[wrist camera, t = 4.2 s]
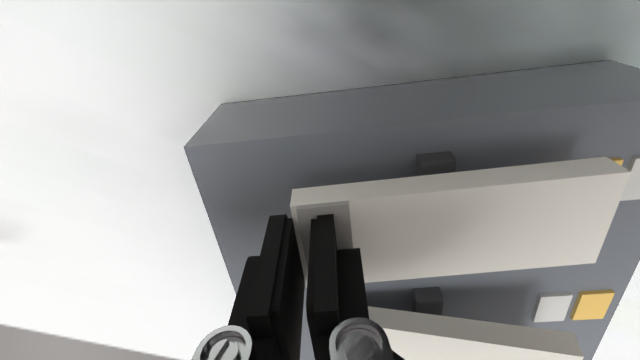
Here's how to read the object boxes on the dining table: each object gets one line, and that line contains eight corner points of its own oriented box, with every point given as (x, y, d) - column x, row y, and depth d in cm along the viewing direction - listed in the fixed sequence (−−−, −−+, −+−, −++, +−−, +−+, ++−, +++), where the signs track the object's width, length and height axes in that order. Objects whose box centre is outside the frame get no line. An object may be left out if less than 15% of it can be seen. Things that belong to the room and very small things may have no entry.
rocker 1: (605, 156, 11) (637, 175, 10) (576, 243, 12) (599, 267, 11) (292, 189, 11) (289, 210, 10) (307, 267, 13) (306, 292, 12)
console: (610, 59, 15) (743, 98, 10) (526, 337, 25) (573, 423, 20) (221, 103, 17) (175, 155, 12) (288, 349, 27) (279, 432, 22)
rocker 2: (573, 332, 13) (586, 362, 12) (553, 384, 15) (561, 413, 14) (324, 300, 16) (317, 322, 15) (332, 347, 18) (326, 369, 17)
